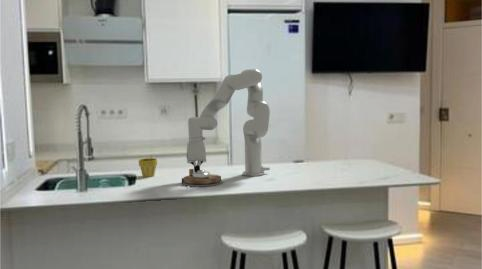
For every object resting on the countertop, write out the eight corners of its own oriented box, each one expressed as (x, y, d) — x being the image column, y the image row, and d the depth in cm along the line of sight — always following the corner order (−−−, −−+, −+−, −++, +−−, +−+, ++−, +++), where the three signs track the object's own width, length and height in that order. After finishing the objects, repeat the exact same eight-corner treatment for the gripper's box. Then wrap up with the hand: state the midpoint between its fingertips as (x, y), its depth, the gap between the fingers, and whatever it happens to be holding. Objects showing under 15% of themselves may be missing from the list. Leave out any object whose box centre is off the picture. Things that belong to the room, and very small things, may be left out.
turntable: (203, 175, 275) (203, 166, 275) (228, 180, 261) (228, 170, 261) (175, 181, 261) (175, 171, 260) (200, 186, 247) (200, 175, 246)
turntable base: (217, 177, 275) (217, 172, 274) (227, 185, 254) (227, 179, 253) (178, 180, 268) (178, 174, 268) (185, 188, 247) (185, 182, 247)
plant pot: (153, 178, 277) (153, 160, 276) (136, 177, 279) (135, 160, 278) (160, 174, 287) (159, 158, 286) (143, 174, 290) (143, 157, 289)
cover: (201, 175, 266) (201, 168, 266) (213, 177, 260) (213, 170, 260) (189, 178, 260) (189, 170, 259) (200, 180, 253) (200, 172, 253)
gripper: (207, 138, 272) (208, 170, 274) (180, 140, 268) (182, 173, 270) (210, 139, 265) (212, 173, 267) (183, 141, 261) (185, 175, 263)
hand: (197, 173), depth 268 cm, fingers closed
